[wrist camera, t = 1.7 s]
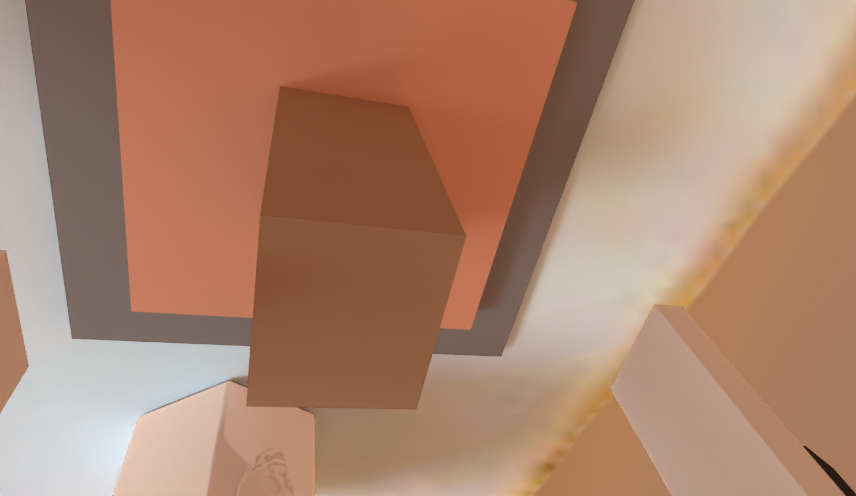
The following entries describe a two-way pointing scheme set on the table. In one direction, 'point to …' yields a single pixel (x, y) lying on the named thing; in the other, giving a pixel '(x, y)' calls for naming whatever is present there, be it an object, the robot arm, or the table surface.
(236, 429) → the jar
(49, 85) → the mat
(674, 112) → the table surface
